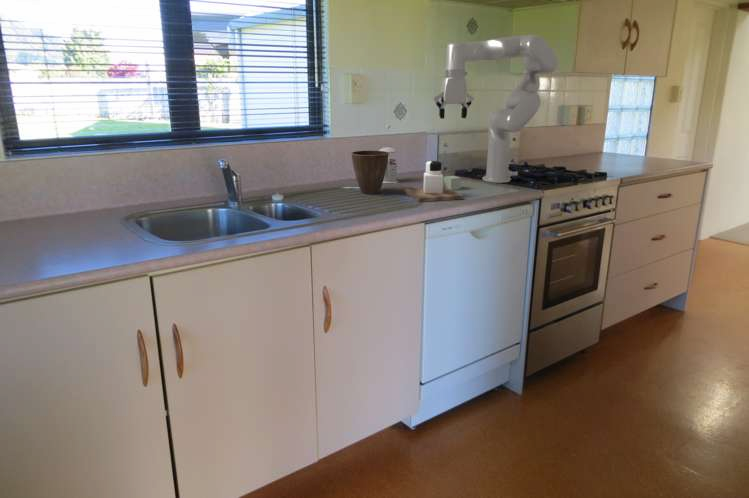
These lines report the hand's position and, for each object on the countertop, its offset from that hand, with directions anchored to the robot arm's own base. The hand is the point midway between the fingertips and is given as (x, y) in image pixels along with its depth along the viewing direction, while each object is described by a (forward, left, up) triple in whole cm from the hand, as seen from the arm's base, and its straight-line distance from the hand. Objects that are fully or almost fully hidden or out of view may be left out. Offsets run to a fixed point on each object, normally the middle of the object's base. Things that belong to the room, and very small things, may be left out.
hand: (452, 118), depth 218 cm
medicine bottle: (+15, +18, -27) cm, 36 cm away
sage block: (+2, +7, -28) cm, 29 cm away
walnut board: (+15, +18, -28) cm, 37 cm away
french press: (+24, -14, -28) cm, 40 cm away
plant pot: (+37, +5, -28) cm, 47 cm away
